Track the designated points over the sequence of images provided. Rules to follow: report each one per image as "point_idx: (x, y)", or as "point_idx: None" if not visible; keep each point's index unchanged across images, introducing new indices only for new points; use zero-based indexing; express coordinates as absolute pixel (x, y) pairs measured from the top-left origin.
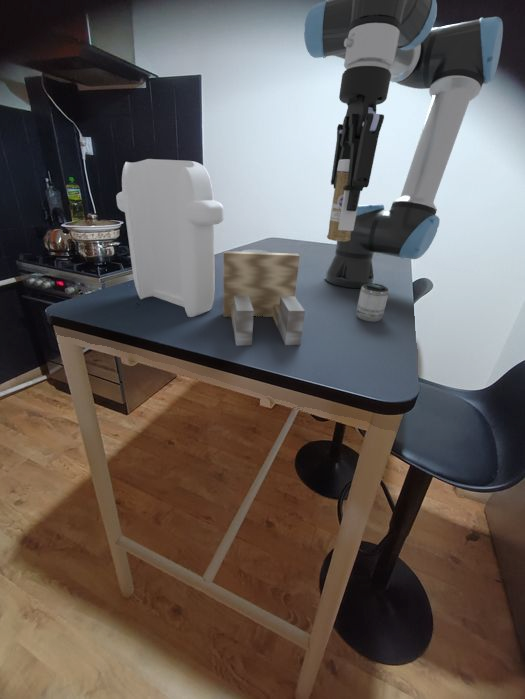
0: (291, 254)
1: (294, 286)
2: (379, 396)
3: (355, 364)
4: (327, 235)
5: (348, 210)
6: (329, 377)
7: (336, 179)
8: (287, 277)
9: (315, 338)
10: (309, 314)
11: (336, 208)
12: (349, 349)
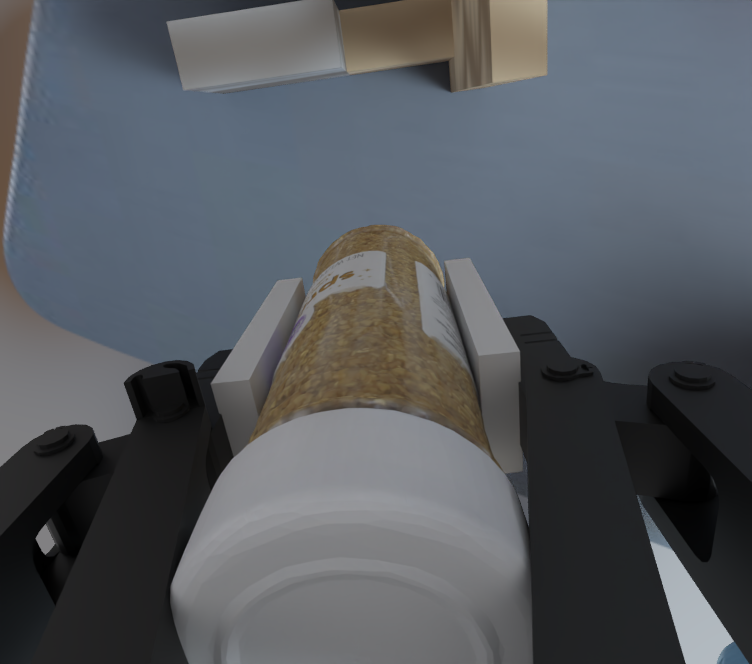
0: (516, 30)
1: (467, 80)
2: (16, 250)
3: (144, 236)
4: (386, 227)
5: (218, 352)
6: (59, 150)
7: (550, 404)
8: (471, 33)
9: (279, 153)
10: (480, 165)
11: (315, 294)
12: (226, 242)
